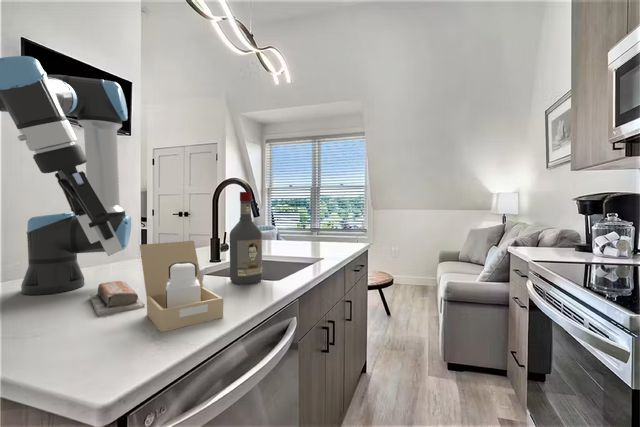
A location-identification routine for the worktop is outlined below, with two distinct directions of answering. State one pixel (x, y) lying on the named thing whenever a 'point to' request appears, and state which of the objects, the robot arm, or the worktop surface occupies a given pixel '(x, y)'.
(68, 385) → the worktop surface
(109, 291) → the packaged product
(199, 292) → the medicine bottle
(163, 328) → the mailer
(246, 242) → the liquor
